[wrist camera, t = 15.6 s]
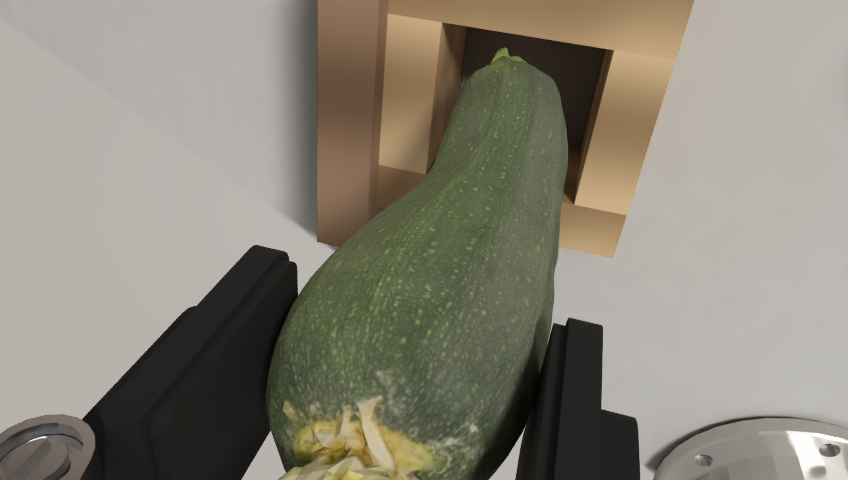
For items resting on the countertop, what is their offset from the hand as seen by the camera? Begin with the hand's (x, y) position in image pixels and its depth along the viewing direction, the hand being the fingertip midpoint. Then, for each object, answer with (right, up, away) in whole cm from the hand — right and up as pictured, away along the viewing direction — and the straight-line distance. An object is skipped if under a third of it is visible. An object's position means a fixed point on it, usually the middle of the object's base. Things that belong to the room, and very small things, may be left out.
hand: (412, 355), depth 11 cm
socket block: (+4, +9, +14) cm, 17 cm away
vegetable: (+3, +7, +11) cm, 14 cm away
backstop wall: (-1, +10, +15) cm, 18 cm away
